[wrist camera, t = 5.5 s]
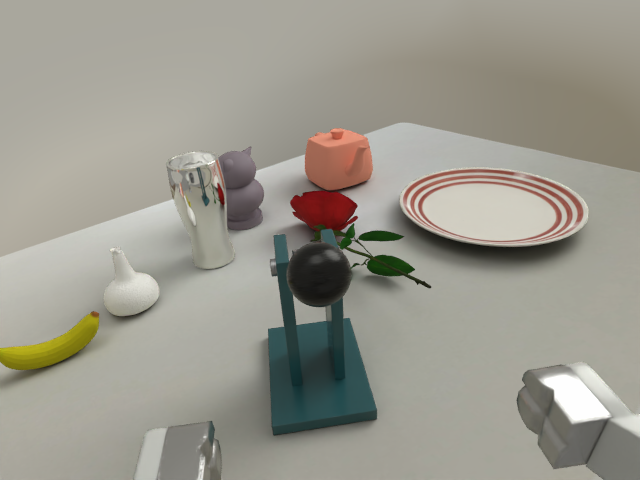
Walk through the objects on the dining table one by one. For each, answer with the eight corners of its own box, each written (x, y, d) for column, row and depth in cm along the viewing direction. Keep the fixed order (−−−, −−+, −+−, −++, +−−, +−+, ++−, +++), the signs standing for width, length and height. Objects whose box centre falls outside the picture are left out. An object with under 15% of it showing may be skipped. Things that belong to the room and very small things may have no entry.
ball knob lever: (360, 307, 21) (352, 238, 21) (290, 316, 21) (282, 246, 21) (329, 280, 35) (324, 239, 35) (288, 285, 35) (282, 244, 35)
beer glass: (236, 268, 57) (216, 166, 49) (185, 273, 57) (157, 171, 49) (240, 243, 63) (223, 148, 55) (194, 247, 63) (171, 152, 55)
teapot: (340, 163, 91) (339, 116, 86) (392, 189, 77) (394, 135, 72) (294, 175, 86) (290, 126, 81) (341, 205, 72) (339, 148, 67)
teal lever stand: (376, 419, 36) (380, 281, 28) (273, 435, 35) (248, 298, 27) (349, 325, 46) (346, 206, 38) (269, 336, 45) (250, 217, 38)
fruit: (3, 389, 41) (-21, 353, 38) (3, 376, 42) (-20, 340, 40) (111, 343, 46) (96, 308, 43) (107, 332, 47) (93, 298, 45)
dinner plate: (485, 286, 51) (490, 263, 49) (367, 205, 72) (367, 187, 70) (625, 228, 60) (632, 208, 59) (484, 172, 82) (486, 156, 80)
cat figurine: (237, 207, 74) (226, 142, 68) (275, 212, 72) (267, 145, 66) (209, 229, 68) (194, 159, 62) (251, 235, 65) (239, 163, 59)
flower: (452, 222, 42) (304, 166, 65) (390, 289, 40) (261, 207, 63) (475, 274, 47) (330, 206, 70) (421, 335, 45) (291, 244, 69)
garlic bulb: (121, 329, 48) (99, 272, 43) (100, 307, 51) (77, 253, 47) (171, 302, 51) (154, 248, 47) (147, 283, 55) (130, 231, 51)
